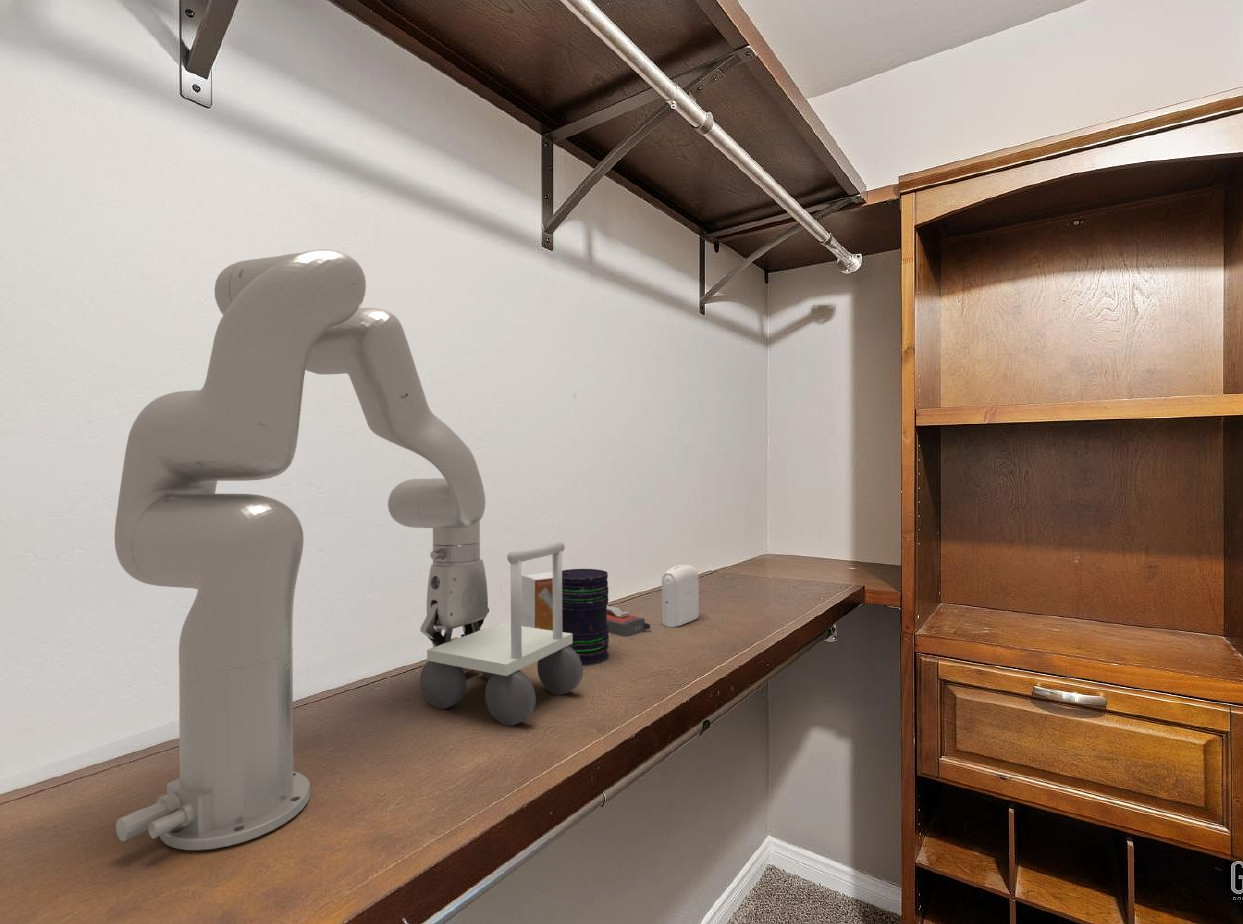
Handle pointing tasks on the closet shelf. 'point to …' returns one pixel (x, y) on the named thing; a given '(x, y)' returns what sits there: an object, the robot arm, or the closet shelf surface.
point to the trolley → (507, 654)
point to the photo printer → (680, 595)
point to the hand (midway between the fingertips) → (457, 663)
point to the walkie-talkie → (624, 623)
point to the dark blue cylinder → (586, 613)
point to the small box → (537, 601)
